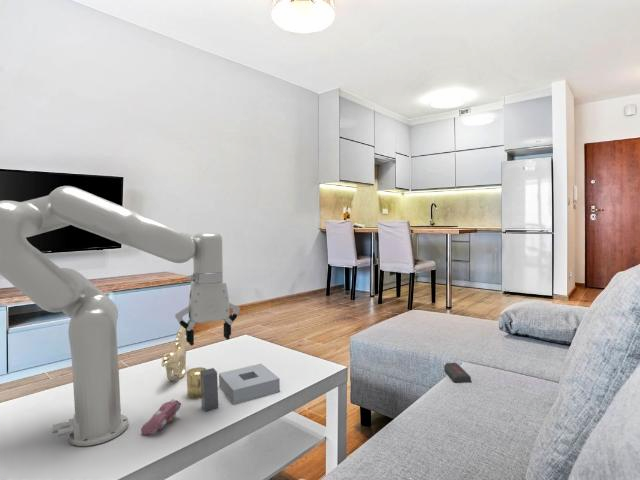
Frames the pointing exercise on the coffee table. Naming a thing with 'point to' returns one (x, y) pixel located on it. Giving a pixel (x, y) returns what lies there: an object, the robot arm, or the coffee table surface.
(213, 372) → the square bit
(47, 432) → the coffee table surface
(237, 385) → the socket block
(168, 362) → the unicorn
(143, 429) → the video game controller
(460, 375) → the usb drive
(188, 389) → the round bit
